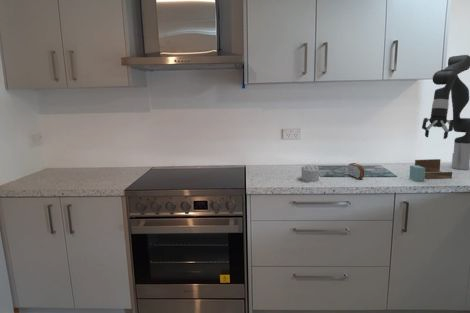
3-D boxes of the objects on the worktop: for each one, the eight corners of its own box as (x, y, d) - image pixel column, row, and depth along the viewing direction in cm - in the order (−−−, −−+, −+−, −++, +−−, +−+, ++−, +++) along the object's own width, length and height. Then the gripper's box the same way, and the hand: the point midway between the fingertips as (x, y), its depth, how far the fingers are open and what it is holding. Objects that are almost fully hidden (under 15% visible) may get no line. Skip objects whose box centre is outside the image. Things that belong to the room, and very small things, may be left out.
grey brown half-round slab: (364, 180, 199) (365, 166, 197) (359, 180, 198) (360, 166, 197) (351, 174, 213) (352, 161, 212) (347, 174, 213) (347, 162, 211)
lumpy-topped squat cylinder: (317, 177, 209) (318, 164, 207) (319, 182, 196) (320, 168, 194) (301, 177, 210) (301, 164, 209) (302, 182, 198) (302, 168, 196)
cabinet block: (409, 178, 199) (410, 165, 197) (416, 178, 199) (417, 165, 197) (416, 181, 191) (417, 168, 189) (424, 181, 191) (425, 168, 189)
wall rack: (414, 173, 209) (415, 159, 208) (438, 173, 209) (439, 159, 208) (426, 179, 196) (427, 164, 195) (451, 178, 196) (453, 163, 195)
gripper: (452, 110, 181) (448, 139, 182) (423, 108, 185) (419, 137, 186) (457, 108, 174) (452, 139, 175) (427, 106, 178) (422, 136, 179)
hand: (435, 138), depth 180 cm, fingers open, 8 cm apart
